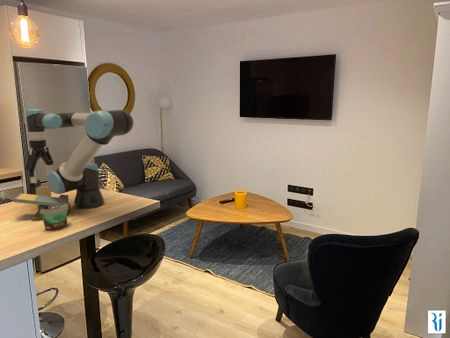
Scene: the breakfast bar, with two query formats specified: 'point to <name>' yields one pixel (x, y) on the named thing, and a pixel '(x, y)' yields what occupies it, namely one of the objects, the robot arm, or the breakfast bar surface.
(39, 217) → the beam stand
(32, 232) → the breakfast bar surface
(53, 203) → the beam
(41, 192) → the wooden block
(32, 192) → the phone stand
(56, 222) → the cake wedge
